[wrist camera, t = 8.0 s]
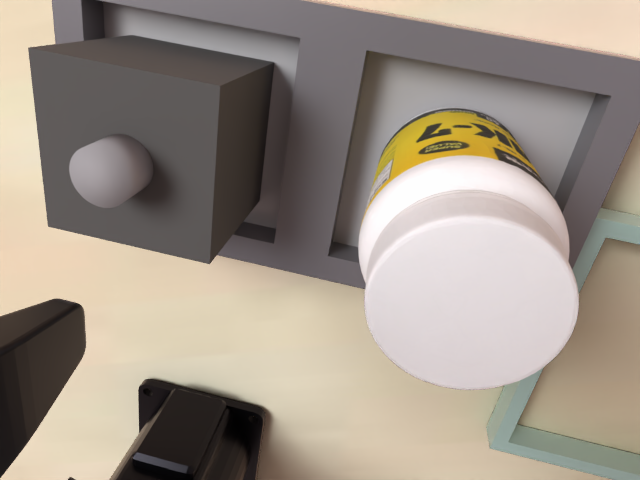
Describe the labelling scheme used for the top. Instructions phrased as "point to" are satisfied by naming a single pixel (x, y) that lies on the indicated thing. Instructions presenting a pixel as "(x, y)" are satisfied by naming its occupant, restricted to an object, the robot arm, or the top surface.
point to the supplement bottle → (465, 255)
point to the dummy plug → (150, 141)
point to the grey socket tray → (384, 108)
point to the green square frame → (503, 431)
